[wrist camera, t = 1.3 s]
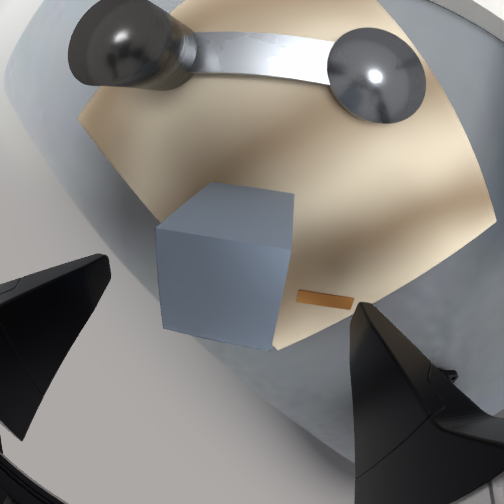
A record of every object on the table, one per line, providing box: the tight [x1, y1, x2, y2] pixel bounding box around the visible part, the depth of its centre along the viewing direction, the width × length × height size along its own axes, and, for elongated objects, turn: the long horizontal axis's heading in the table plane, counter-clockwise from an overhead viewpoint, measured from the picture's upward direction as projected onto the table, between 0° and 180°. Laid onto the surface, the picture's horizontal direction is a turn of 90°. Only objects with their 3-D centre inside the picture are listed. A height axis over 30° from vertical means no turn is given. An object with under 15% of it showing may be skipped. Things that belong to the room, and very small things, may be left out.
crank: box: [68, 0, 426, 124], centre depth 8 cm, size 14×4×5 cm, turn 83°
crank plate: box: [77, 0, 496, 350], centre depth 13 cm, size 19×16×2 cm
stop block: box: [155, 182, 294, 351], centre depth 11 cm, size 4×4×6 cm
